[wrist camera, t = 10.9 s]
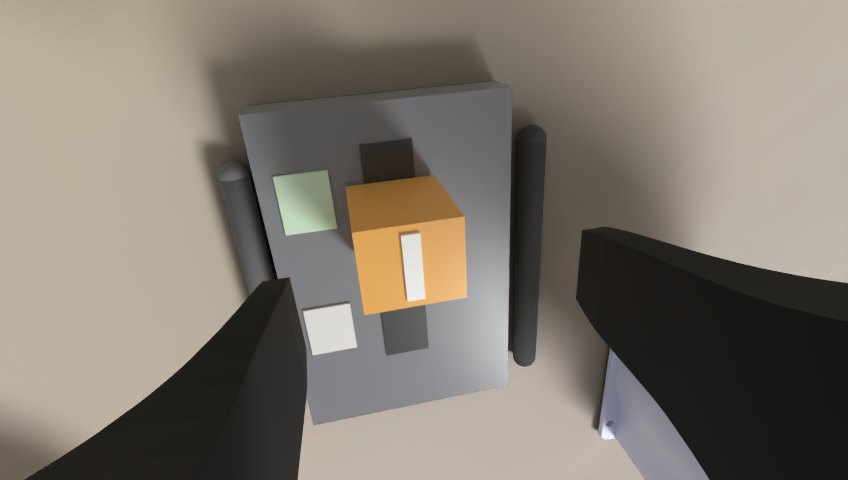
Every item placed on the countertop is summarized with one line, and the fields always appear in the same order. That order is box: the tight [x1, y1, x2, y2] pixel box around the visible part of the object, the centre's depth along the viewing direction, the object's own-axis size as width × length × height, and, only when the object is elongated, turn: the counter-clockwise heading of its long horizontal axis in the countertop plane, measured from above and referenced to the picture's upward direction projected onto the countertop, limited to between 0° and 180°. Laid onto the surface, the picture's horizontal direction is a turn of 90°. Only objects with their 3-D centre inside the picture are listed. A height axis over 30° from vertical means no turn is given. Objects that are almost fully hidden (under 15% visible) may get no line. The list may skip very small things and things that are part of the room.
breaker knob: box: [345, 175, 467, 315], centre depth 16 cm, size 3×4×4 cm
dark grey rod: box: [513, 125, 546, 367], centre depth 23 cm, size 13×1×1 cm, turn 4°
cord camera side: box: [216, 161, 275, 295], centre depth 21 cm, size 13×1×1 cm, turn 4°
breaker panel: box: [238, 81, 512, 425], centre depth 21 cm, size 15×10×2 cm, turn 4°
